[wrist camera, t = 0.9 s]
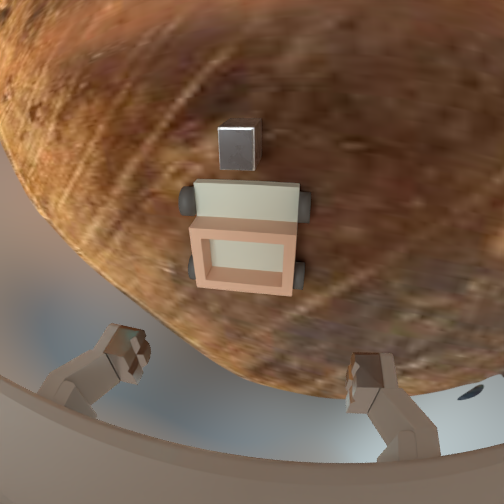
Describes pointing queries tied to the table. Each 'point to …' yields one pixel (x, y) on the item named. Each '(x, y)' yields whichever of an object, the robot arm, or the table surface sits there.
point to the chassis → (245, 234)
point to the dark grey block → (240, 143)
